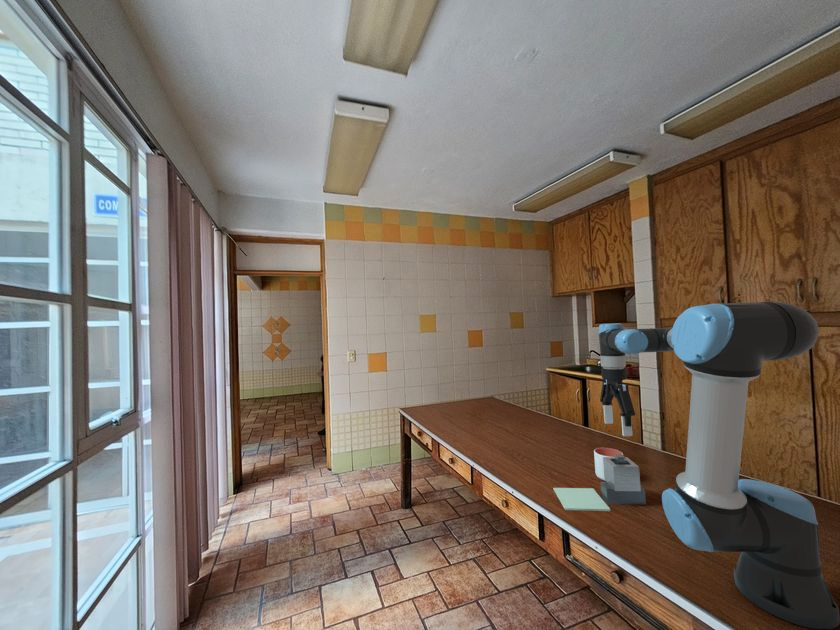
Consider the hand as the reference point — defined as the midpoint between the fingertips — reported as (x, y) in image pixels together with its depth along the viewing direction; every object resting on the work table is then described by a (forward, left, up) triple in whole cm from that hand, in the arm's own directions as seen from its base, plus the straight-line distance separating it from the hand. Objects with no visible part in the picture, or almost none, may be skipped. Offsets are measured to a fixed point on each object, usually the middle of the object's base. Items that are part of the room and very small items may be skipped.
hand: (617, 429), depth 113 cm
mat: (0, +14, -24) cm, 28 cm away
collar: (0, 0, -19) cm, 19 cm away
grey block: (0, 0, -24) cm, 24 cm away
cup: (+17, -3, -24) cm, 30 cm away
